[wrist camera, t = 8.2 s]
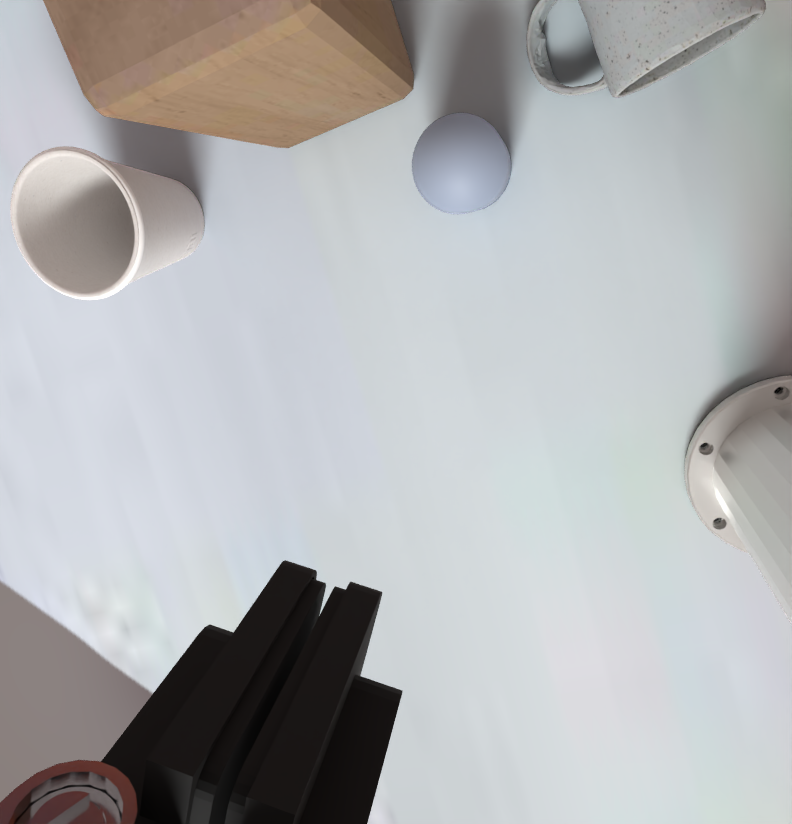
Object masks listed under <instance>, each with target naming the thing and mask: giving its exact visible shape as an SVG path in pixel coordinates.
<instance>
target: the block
mask: <svg viewBox="0 0 792 824" xmlns="http://www.w3.org/2000/svg"><path fill="white" fill-rule="evenodd" d="M43 1H44V3H45V6H46V8H47V10H48V13H49V15H50V17H51V20H52V22H53V24H54V27H55V29H56V31H57V34H58V36H59V38H60V41H61V43H62V45H63V48H64V50H65V52H66V55H67V57H68V59H69V62H70V64H71V66H72V69H73V71H74V73H75V76H76V78H77V80H78V83H79V85H80V87H81V90H82V92H83V94H84V96H85V97H86V98H87V99H88V101H89V102H90V103H91V105H92V106H93V107H94V108H95V110H97V111H98V112H99V113H100V114H102V115H103V116H106V117H112V118H117V119H123V120H128V121H134V122H139V123H145V124H150V125H156V126H161V127H167V128H172V129H178V130H184V131H189V132H195V133H200V134H206V135H211V136H217V137H222V138H228V139H233V140H239V141H244V142H250V143H255V144H261V145H267V146H272V147H279V148H289V147H292V146H294V145H296V144H299V143H301V142H303V141H306V140H308V139H310V138H313V137H315V136H317V135H320V134H322V133H325V132H327V131H329V130H332V129H334V128H336V127H339V126H341V125H343V124H346V123H348V122H350V121H353V120H355V119H357V118H360V117H362V116H364V115H367V114H369V113H371V112H374V111H376V110H378V109H381V108H383V107H385V106H388V105H390V104H392V103H395V102H397V101H399V100H402V99H404V98H405V97H406V96H407V95H408V94H409V93H410V92H411V91H412V90H413V83H414V73H413V70H412V67H411V64H410V60H409V57H408V54H407V51H406V47H405V44H404V41H403V38H402V35H401V31H400V28H399V25H398V22H397V18H396V15H395V12H394V9H393V6H392V2H391V0H43Z"/></svg>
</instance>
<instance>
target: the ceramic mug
mask: <svg viewBox="0 0 792 824" xmlns="http://www.w3.org/2000/svg"><path fill="white" fill-rule="evenodd" d="M578 1H579V4H580V6H581V9H582V11H583V14H584V16H585V19H586V22H587V24H588V28H589V31H590V34H591V37H592V40H593V44H594V47H595V50H596V53H597V56H598V58H599V61H600V64H601V67H602V70H603V73H604V75H603V77H602V79H601V80H599V81H598V82H595V83H593V84H589V85H584V86H577V87H569V86H565V85H563V84H560V83H559V82H558V80H557V79H556V78H555V77H554V75H553V72H552V68H551V65H550V62H549V59H548V56H547V51H546V37H545V35H544V34H543V33H542V29H543V24H544V22H545V19H546V17H547V15H548V12H549V10H550V9H551V7H552V6H553V5H554V4H555V3H556V2H557V0H539V2H538V3H537V5H536V6H535V8H534V10H533V12H532V15H531V18H530V21H529V25H528V30H527V36H526V40H527V54H528V58H529V61H530V64H531V68H532V71H533V73H534V74H535V76H536V78H537V79H538V81H539V82H540V84H542V85H543V86H544V87H545V88H547V89H548V90H550V91H552V92H555V93H558V94H562V95H581V94H586V93H591V92H595V91H599V90H602V89H605V88H607V87H608V88H609V91H610V93H611V95H612V96H613V97H615V98H620V97H624V96H626V95H629V94H632V93H634V92H636V91H639V90H641V89H643V88H646V87H648V86H650V85H651V84H653V83H655V82H657V81H659V80H661V79H663V78H666V77H668V76H670V75H672V74H673V73H675V72H677V71H679V70H680V69H682V68H684V67H686V66H688V65H690V64H692V63H693V62H695V61H696V60H698V59H700V58H702V57H704V56H705V55H707V54H708V53H710V52H712V51H713V50H715V49H717V48H719V47H720V46H722V45H723V44H725V43H726V42H728V41H730V40H731V39H733V38H735V37H736V36H737V35H738V34H740V33H741V32H742V31H744V30H746V29H747V28H748V27H749V26H751V25H752V24H754V22H755V21H757V20H758V19H759V18H760V17H761V16H762V15H763V13H764V12H765V10H766V4H765V1H764V0H578Z"/></svg>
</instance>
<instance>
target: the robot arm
mask: <svg viewBox="0 0 792 824" xmlns="http://www.w3.org/2000/svg"><path fill="white" fill-rule="evenodd" d="M778 387H781V390H780V391H779V392H777V393H774V391H775V390H776V388H778ZM703 443H707V445H706V446H705V447H700V446H701V444H703ZM684 478H685V483H686V489H687V494H688V496H689V498H690V501H691V503H692V505H693V507H694V509H695V511H696V513H697V514H698V516H699V518H700V520H701V521H702V522H703V523H704V524H705V526H706V527H707V528H708V529H709V530H710V531H711V532H712V533H713V534H714V535H716V536H717V537H718V538H720V539H721V540H722V541H724V542H725V543H726V544H728V545H730V546H732V547H734V548H736V549H739V550H741V551H743V552H746V553H749V554H750V556H751V558H752V560H753V561H754V563H755V565H756V566H757V568H758V570H759V571H760V573H761V575H762V576H763V578H764V580H765V581H766V583H767V585H768V586H769V588H770V590H771V592H772V593H773V595H774V597H775V598H776V600H777V602H778V603H779V605H780V607H781V608H782V610H783V612H784V613H785V615H786V617H787V618H788V620H789V622H790V623H791V625H792V375H789V376H779V377H775V378H771V379H767V380H763V381H759V382H757V383H754V384H752V385H750V386H747V387H745V388H743V389H740V390H739V391H737V392H736V393H734V394H732V395H731V396H729V397H728V398H726V399H725V400H723V401H722V402H721V403H720V404H719V405H718V406H716V407H715V408H714V409H713V410H712V411H711V412H710V413H709V414H708V415H707V416H706V418H705V419H704V420H703V422H702V423H701V424H700V425H699V427H698V428H697V430H696V432H695V434H694V436H693V438H692V440H691V442H690V444H689V447H688V451H687V455H686V459H685V473H684ZM717 518H719V519H718V520H715V519H717ZM316 576H317V572H316V570H313V569H310V568H307V567H304V566H301V565H298V564H295V563H292V562H289V561H286V560H285V561H283V562H282V563H281V565H280V566H279V567H278V569H277V570H276V572H275V573H274V575H273V576H272V578H271V579H270V580H269V582H268V583H267V585H266V586H265V588H264V589H263V591H262V592H261V594H260V595H259V596H258V598H257V599H256V601H255V602H254V604H253V605H252V607H251V608H250V610H249V611H248V612H247V614H246V615H245V617H244V618H243V620H242V621H241V623H240V624H239V626H238V627H237V628H236V630H235V631H234V633H233V632H230V631H227V630H224V629H221V628H218V627H215V626H213V625H208V626H206V627H205V628H204V629H203V630H202V631H201V632H200V633H199V634H198V636H197V637H196V638H195V640H194V641H193V642H192V644H191V645H190V646H189V648H188V649H187V650H186V651H185V653H184V654H183V655H182V657H181V658H180V659H179V661H178V662H177V663H176V665H175V666H174V667H173V668H172V670H171V671H170V672H169V674H168V675H167V676H166V678H165V679H164V680H163V682H162V683H161V684H160V685H159V687H158V688H157V689H156V691H155V692H154V693H153V695H152V696H151V697H150V699H149V700H148V701H147V702H146V704H145V705H144V706H143V708H142V709H141V710H140V712H139V713H138V714H137V716H136V717H135V718H134V719H133V721H132V722H131V723H130V725H129V726H128V727H127V729H126V730H125V731H124V733H123V734H122V735H121V737H120V738H119V739H118V740H117V742H116V743H115V744H114V746H113V747H112V748H111V750H110V751H109V752H108V754H107V755H106V756H105V757H104V759H103V760H102V761H101V762H99V761H88V760H75V761H70V762H65V763H59V764H56V765H54V766H51V767H49V768H47V769H45V770H42V771H40V772H38V773H36V774H34V775H33V776H31V777H30V778H29V779H27V780H26V781H25V782H23V783H22V784H20V785H19V786H18V787H17V788H15V789H14V790H13V791H12V792H11V793H10V794H9V795H8V796H7V797H5V798H4V799H3V800H2V801H1V802H0V824H367V822H368V819H369V815H370V811H371V807H372V804H373V800H374V796H375V792H376V789H377V785H378V781H379V777H380V774H381V770H382V766H383V762H384V759H385V755H386V751H387V748H388V744H389V740H390V736H391V733H392V729H393V725H394V721H395V718H396V714H397V710H398V706H399V703H400V699H401V695H402V690H399V689H396V688H393V687H390V686H387V685H384V684H381V683H378V682H375V681H373V680H370V679H367V678H364V677H361V676H360V675H361V671H362V667H363V664H364V660H365V656H366V653H367V649H368V645H369V641H370V638H371V634H372V630H373V627H374V623H375V619H376V615H377V612H378V608H379V604H380V600H381V596H382V592H380V591H377V590H374V589H371V588H368V587H365V586H362V585H359V584H356V583H353V582H350V583H349V585H348V587H347V589H346V590H345V589H342V588H339V587H336V586H335V587H334V589H333V591H332V593H331V594H330V596H329V598H328V600H327V602H326V604H325V606H324V608H323V610H322V612H321V614H320V610H321V606H322V601H323V597H324V593H325V588H326V584H325V583H323V582H320V581H317V580H316ZM319 614H320V616H319Z"/></svg>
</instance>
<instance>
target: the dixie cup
mask: <svg viewBox="0 0 792 824" xmlns="http://www.w3.org/2000/svg"><path fill="white" fill-rule="evenodd" d="M10 210H11V223H12V228H13V232H14V236H15V239H16V242H17V244H18V247H19V249H20V251H21V253H22V255H23V257H24V258H25V260H26V262H27V263H28V265H29V266H30V267H31V269H32V270H33V271H34V272H35V273H36V274H37V276H38V277H39V278H40V279H42V280H43V281H44V282H45V283H46V284H47V285H49V286H50V287H52V288H53V289H55V290H56V291H58V292H60V293H62V294H64V295H67V296H69V297H73V298H76V299H82V300H97V299H102V298H106V297H109V296H111V295H113V294H115V293H117V292H118V291H120V290H121V289H123V288H124V287H125V286H126V285H127V284H129V283H131V282H134V281H136V280H138V279H140V278H142V277H145V276H147V275H149V274H151V273H153V272H156V271H158V270H160V269H162V268H164V267H167V266H169V265H171V264H173V263H175V262H178V261H180V260H182V259H184V258H186V257H188V256H190V255H191V254H192V253H193V252H194V251H195V250H196V249H197V248H198V246H199V245H200V243H201V240H202V237H203V234H204V215H203V211H202V208H201V205H200V203H199V201H198V199H197V198H196V196H195V195H194V194H193V192H192V191H191V190H190V189H189V188H188V187H187V186H185V185H184V184H182V183H181V182H179V181H177V180H174V179H171V178H167V177H164V176H160V175H157V174H153V173H150V172H147V171H143V170H140V169H136V168H133V167H129V166H126V165H122V164H119V163H115V162H112V161H108V160H105V159H103V158H101V157H100V156H98V155H96V154H94V153H92V152H90V151H87V150H84V149H81V148H76V147H55V148H51V149H48V150H45V151H43V152H41V153H39V154H37V155H36V156H35V157H33V158H32V159H31V160H30V161H29V162H28V163H27V164H26V165H25V166H24V167H23V169H22V170H21V172H20V174H19V175H18V177H17V179H16V182H15V185H14V188H13V192H12V197H11V209H10Z"/></svg>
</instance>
